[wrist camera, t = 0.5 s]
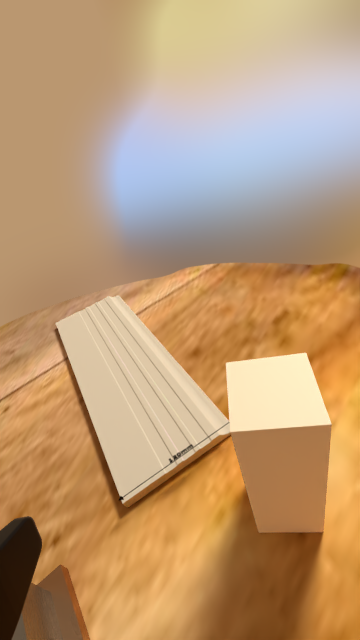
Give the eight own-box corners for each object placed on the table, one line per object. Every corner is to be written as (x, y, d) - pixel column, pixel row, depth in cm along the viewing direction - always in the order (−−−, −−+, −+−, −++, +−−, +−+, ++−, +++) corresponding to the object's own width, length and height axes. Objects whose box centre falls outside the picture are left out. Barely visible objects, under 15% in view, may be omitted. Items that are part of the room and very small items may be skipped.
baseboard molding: (128, 295, 50) (60, 330, 47) (121, 280, 49) (50, 316, 46) (250, 425, 27) (130, 513, 24) (246, 405, 25) (115, 497, 22)
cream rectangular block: (323, 532, 19) (331, 424, 12) (258, 532, 20) (230, 432, 13) (307, 468, 22) (306, 352, 15) (251, 471, 23) (226, 362, 16)
